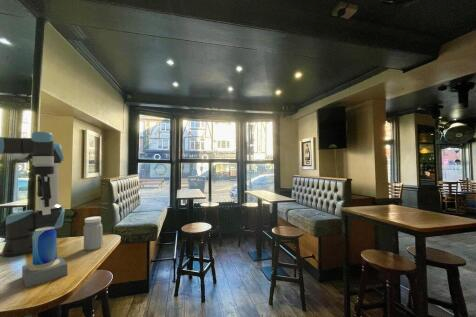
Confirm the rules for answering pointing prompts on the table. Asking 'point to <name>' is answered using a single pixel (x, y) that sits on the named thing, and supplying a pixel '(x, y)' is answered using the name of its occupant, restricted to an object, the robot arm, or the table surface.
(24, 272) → the riser
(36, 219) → the robot arm
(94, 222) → the jar
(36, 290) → the table surface
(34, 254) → the beer can
